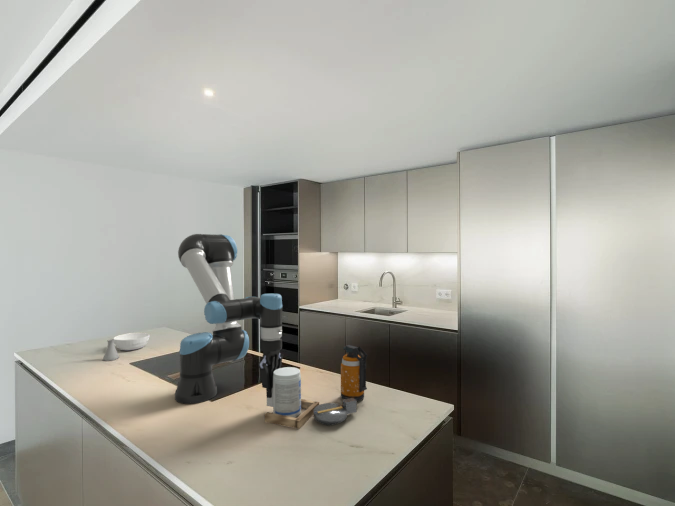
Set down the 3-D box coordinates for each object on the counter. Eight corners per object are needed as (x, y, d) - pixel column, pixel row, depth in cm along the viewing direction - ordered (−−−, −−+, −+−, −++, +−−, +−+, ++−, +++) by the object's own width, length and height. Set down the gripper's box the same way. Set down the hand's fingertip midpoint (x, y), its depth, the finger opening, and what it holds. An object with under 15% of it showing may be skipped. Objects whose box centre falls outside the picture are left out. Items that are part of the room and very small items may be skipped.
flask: (113, 361, 179) (113, 341, 179) (99, 361, 179) (99, 341, 179) (122, 357, 186) (122, 338, 186) (108, 357, 186) (108, 338, 186)
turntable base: (316, 422, 114) (316, 419, 114) (324, 413, 121) (324, 410, 121) (336, 426, 112) (336, 423, 112) (343, 417, 118) (343, 414, 118)
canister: (351, 391, 140) (351, 341, 140) (373, 399, 132) (373, 346, 132) (335, 397, 134) (335, 345, 134) (357, 407, 126) (357, 351, 126)
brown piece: (264, 421, 115) (264, 414, 115) (287, 403, 129) (287, 396, 129) (299, 429, 110) (299, 421, 110) (319, 409, 124) (319, 402, 124)
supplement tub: (306, 415, 119) (306, 372, 119) (280, 423, 114) (280, 378, 114) (292, 405, 127) (292, 364, 127) (268, 412, 122) (268, 369, 122)
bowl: (105, 352, 195) (105, 339, 195) (129, 343, 213) (129, 331, 213) (134, 354, 192) (134, 340, 192) (156, 345, 210) (156, 333, 210)
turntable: (321, 427, 109) (321, 414, 109) (308, 412, 119) (308, 400, 119) (362, 417, 115) (362, 405, 115) (347, 404, 125) (347, 393, 125)
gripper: (270, 343, 115) (270, 415, 115) (289, 335, 127) (289, 399, 127) (251, 341, 118) (251, 411, 118) (272, 333, 130) (272, 396, 130)
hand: (271, 405), depth 123 cm, fingers closed
